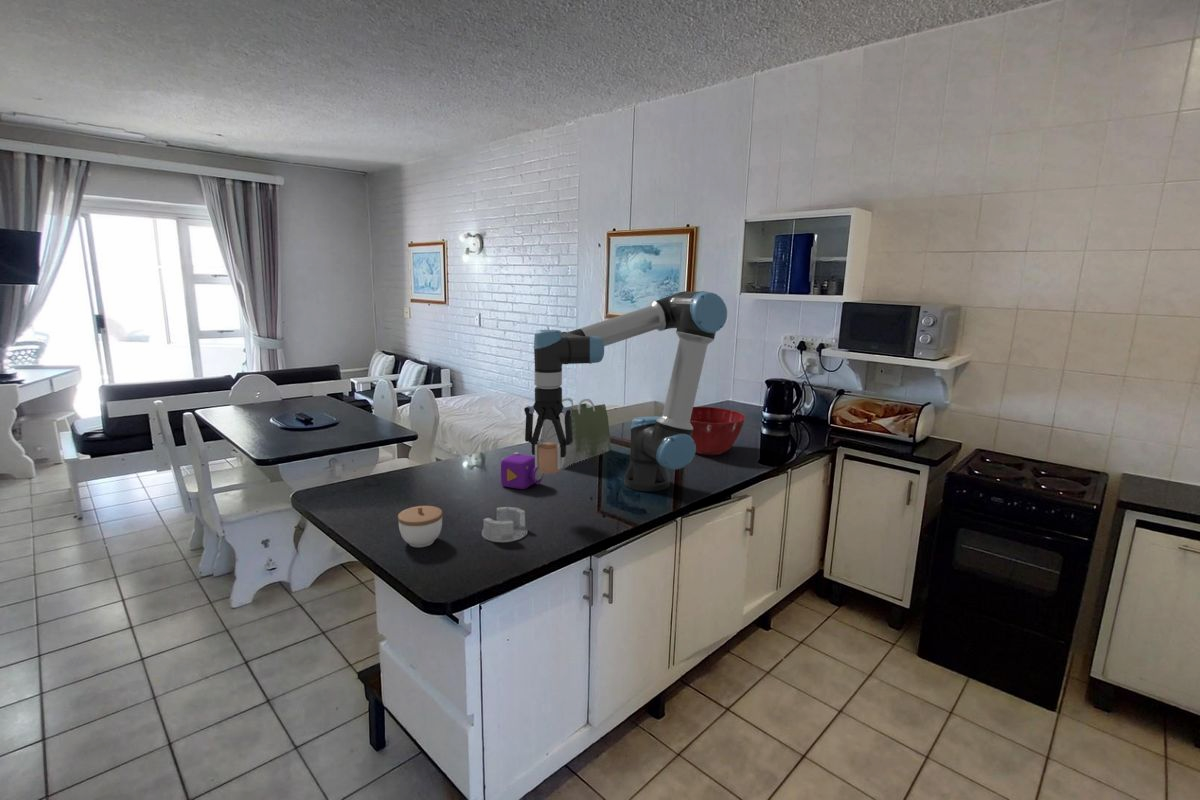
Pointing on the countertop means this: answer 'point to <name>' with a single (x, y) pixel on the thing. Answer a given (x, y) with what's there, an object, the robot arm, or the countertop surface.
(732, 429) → the mixing bowl
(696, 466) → the countertop surface
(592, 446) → the grocery bag
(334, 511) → the countertop surface
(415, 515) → the lidded jar
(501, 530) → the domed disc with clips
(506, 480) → the toy camera
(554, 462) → the tan tapered cylinder
